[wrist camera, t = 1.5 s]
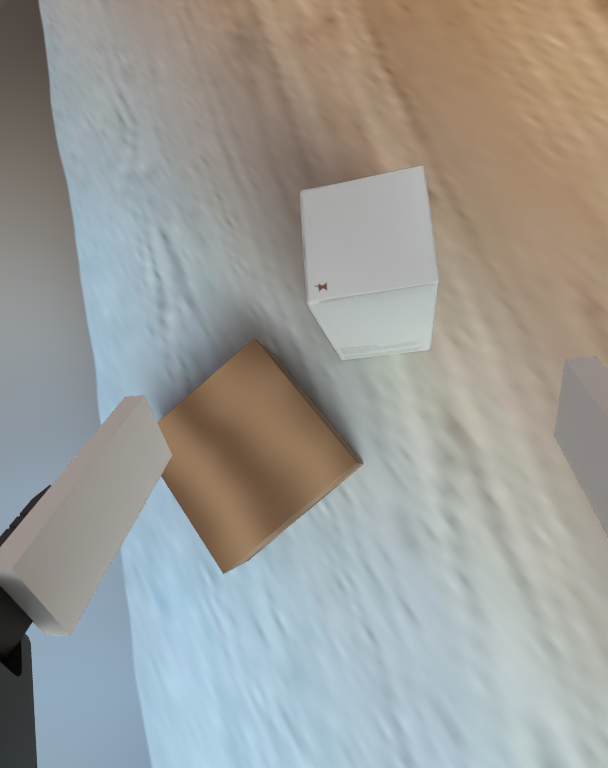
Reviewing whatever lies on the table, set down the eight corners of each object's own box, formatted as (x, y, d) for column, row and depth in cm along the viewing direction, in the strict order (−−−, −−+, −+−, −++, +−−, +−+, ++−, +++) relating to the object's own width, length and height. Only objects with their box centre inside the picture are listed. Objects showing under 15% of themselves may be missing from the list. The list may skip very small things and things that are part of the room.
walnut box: (274, 354, 38) (254, 338, 33) (364, 464, 34) (356, 462, 29) (172, 443, 38) (138, 439, 34) (249, 560, 35) (223, 573, 30)
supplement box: (432, 352, 34) (442, 286, 22) (339, 362, 36) (301, 306, 24) (422, 265, 36) (426, 160, 24) (333, 279, 37) (295, 187, 25)
